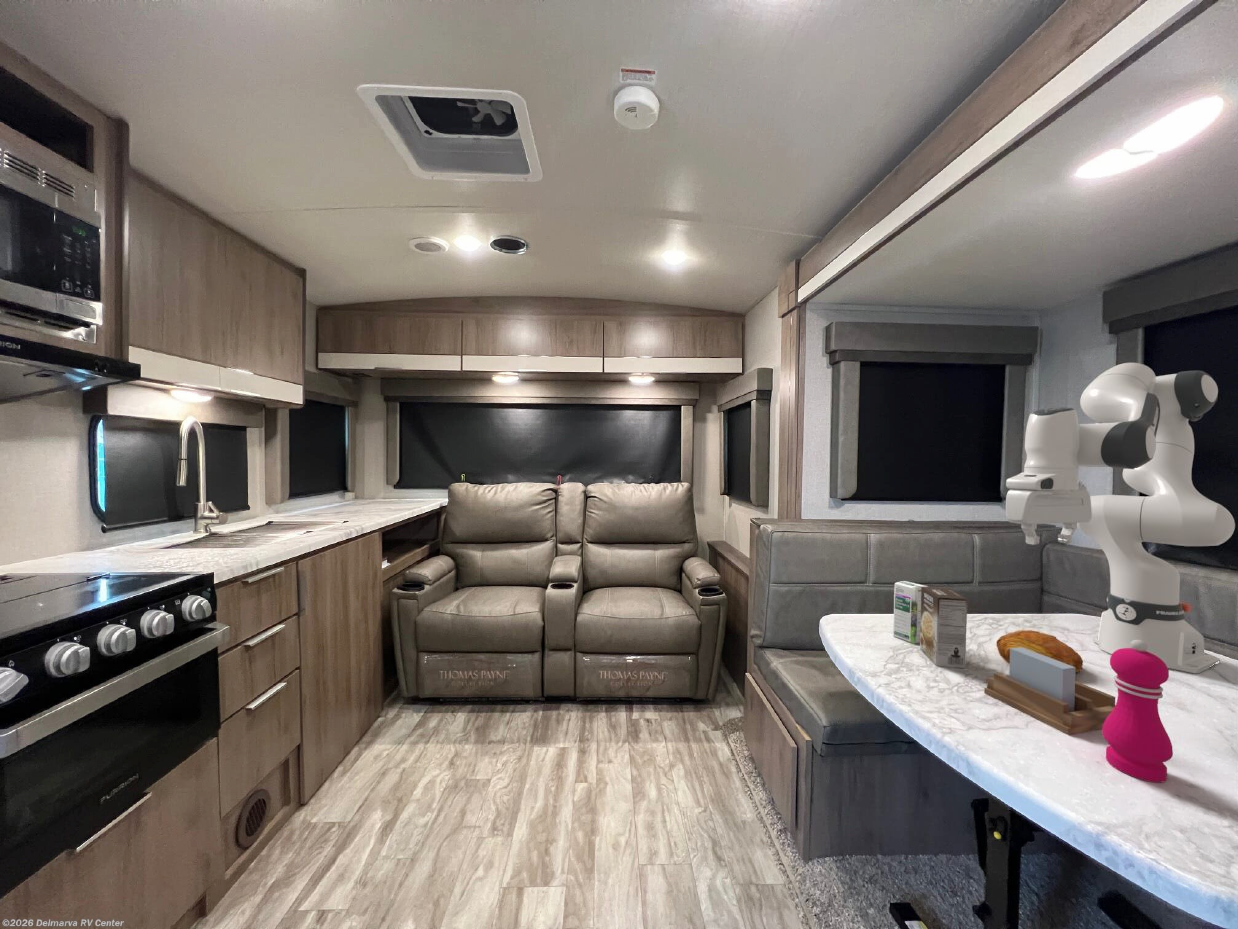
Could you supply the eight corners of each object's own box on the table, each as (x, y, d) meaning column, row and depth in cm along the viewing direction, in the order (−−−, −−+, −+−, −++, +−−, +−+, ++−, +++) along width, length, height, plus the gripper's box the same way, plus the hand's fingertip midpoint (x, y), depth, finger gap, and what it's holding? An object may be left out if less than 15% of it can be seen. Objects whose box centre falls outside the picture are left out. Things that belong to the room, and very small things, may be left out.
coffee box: (918, 649, 114) (919, 585, 114) (947, 652, 113) (948, 587, 113) (935, 666, 105) (937, 596, 105) (967, 669, 104) (969, 598, 104)
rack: (1036, 685, 97) (1037, 664, 96) (1126, 724, 83) (1126, 700, 82) (984, 692, 93) (984, 671, 93) (1067, 734, 79) (1068, 709, 79)
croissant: (984, 663, 112) (981, 631, 112) (1028, 647, 117) (1024, 616, 116) (1055, 691, 98) (1051, 654, 98) (1102, 671, 103) (1098, 636, 102)
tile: (1020, 691, 92) (1021, 647, 92) (1074, 716, 83) (1075, 667, 83) (1008, 693, 91) (1010, 648, 91) (1061, 718, 83) (1063, 669, 82)
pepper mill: (1088, 754, 74) (1091, 631, 74) (1128, 752, 75) (1132, 630, 74) (1142, 786, 67) (1147, 650, 67) (1186, 784, 67) (1191, 649, 67)
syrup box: (892, 636, 123) (893, 582, 122) (905, 632, 125) (906, 580, 125) (914, 644, 118) (915, 588, 117) (927, 640, 120) (928, 585, 120)
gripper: (1068, 480, 107) (1067, 539, 107) (999, 480, 102) (998, 542, 102) (1102, 481, 101) (1100, 544, 101) (1031, 481, 96) (1029, 547, 96)
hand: (1048, 543), depth 102 cm, fingers open, 8 cm apart
